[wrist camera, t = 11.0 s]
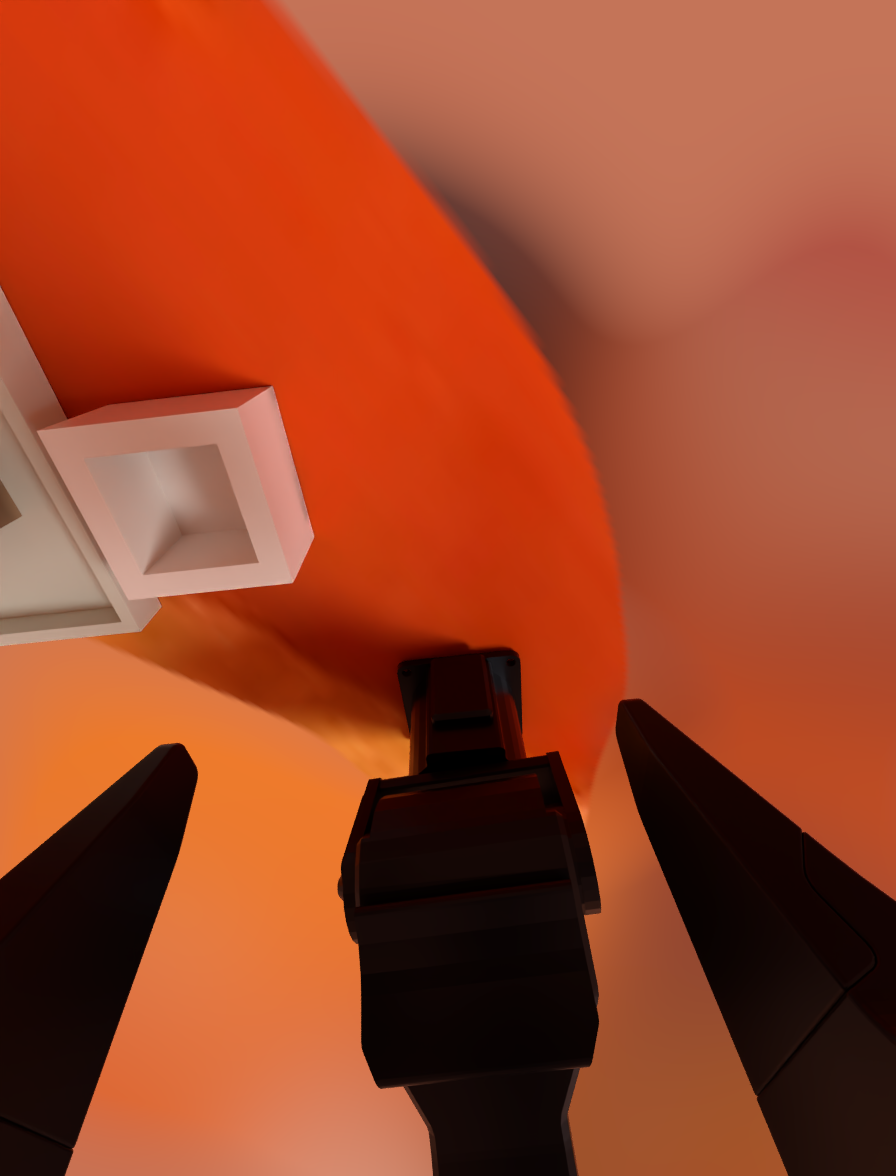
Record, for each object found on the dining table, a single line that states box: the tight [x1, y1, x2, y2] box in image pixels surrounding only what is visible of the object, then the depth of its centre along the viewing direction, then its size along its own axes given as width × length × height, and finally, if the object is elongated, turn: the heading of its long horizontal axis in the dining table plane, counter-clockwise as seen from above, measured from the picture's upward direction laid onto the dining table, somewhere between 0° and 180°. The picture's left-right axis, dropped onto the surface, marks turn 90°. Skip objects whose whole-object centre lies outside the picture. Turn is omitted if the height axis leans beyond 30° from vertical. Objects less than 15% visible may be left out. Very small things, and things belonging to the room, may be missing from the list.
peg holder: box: [37, 386, 314, 600], centre depth 18 cm, size 6×6×4 cm
